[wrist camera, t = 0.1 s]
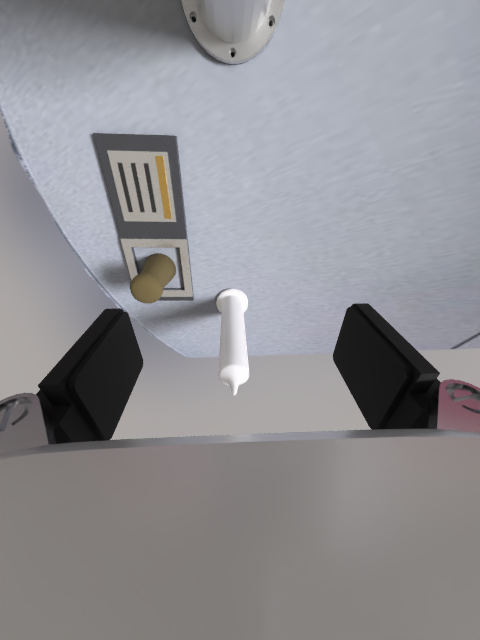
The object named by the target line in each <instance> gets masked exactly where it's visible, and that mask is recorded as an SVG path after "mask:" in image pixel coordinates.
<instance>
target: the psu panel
mask: <svg viewBox="0 0 480 640" xmlns="http://www.w3.org/2000/svg"><path fill="white" fill-rule="evenodd" d="M93 135H94V139H95V143H96V146H97V150H98V154H99V158H100V162H101V165H102V169H103V173H104V177H105V180H106V184H107V188H108V192H109V196H110V199H111V203H112V207H113V211H114V214H115V218H116V222H117V226H118V230H119V233H120V237H121V243H122V247H123V250H124V254H125V258H126V262H127V265H128V269H129V273H130V277H131V280H132V279H133V278H134V277H135V276H136V275H138V274H139V270H138V266H137V261H136V257H135V253H134V249H133V247H179V248H180V256H181V264H182V272H183V279H184V287H185V288H163V294H162V296H161V297H160V299H158V300H194V296H193V286H192V277H191V268H190V258H189V249H188V239H187V230H186V220H185V211H184V201H183V192H182V183H181V173H180V164H179V154H178V145H177V136H168V135H135V134H102V133H93ZM137 301H138V300H137Z"/></svg>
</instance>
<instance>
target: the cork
mask: <svg viewBox="0 0 480 640" xmlns="http://www.w3.org/2000/svg"><path fill="white" fill-rule="evenodd" d="M175 273H176V267H175V264H174V262H173V261H172V260H171V259H170V258H169V257H168V256H166V255H164V254H153V255H151V256H149V257H148V258H147V260H146V262H145V265H144V267H143V269H142V271H141V274H138V275H136V276H135V277H134V278H133V279H132V281H131V284H130V290H131V293H132V295H133V296H134V298H136V299H137V300H138V301H140V302H143V303H153V302H156V301H157V300H158V299H160V297H161V296H162V294H163V288H164V287H165V286H166V285H167V284H168V283H169V282H170V281H171V280H172V279H173V277H174V276H175Z"/></svg>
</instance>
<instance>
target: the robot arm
mask: <svg viewBox="0 0 480 640" xmlns="http://www.w3.org/2000/svg"><path fill="white" fill-rule="evenodd" d="M181 2H182V6H183V10H184V13H185V16H186V19H187V22H188V24H189V26H190V28H191V31H192V33H193V35H194V36H195V38H196V39H197V41H198V42H199V44H200V45H201V46H202V47H203V48H204V50H205V51H206V52H207V53H208V54H210V55H211V56H212V57H214V58H215V59H217V60H219V61H221V62H224V63H228V64H240V63H244V62H247V61H249V60H251V59H253V58H254V57H255V56H257V55H258V54H259V53H260V52H261V51H262V50H263V49H264V48H265V47H266V45H267V44H268V43H269V41H270V39H271V37H272V36H273V34H274V32H275V30H276V27H277V25H278V22H279V20H280V16H281V13H282V10H283V5H284V0H181ZM193 18H195V19H196V22H194V23H193V22H192V19H193ZM269 22H272V27H271V26H269ZM231 53H234V55H235V56H234V57H231ZM333 360H334V362H335V364H336V366H337V368H338V370H339V372H340V374H341V375H342V377H343V379H344V381H345V383H346V385H347V386H348V388H349V390H350V392H351V394H352V395H353V397H354V399H355V401H356V403H357V405H358V407H359V408H360V410H361V412H362V414H363V416H364V418H365V420H366V421H367V423H368V425H369V427H370V428H371V429H372V430H348V431H321V432H320V431H318V432H290V433H264V434H238V435H215V436H214V435H213V436H193V437H192V436H191V437H167V438H146V439H122V440H110V439H111V438H112V436H113V434H114V431H115V429H116V427H117V424H118V422H119V420H120V417H121V415H122V413H123V411H124V408H125V406H126V404H127V401H128V399H129V396H130V395H131V392H132V390H133V387H134V385H135V383H136V381H137V378H138V376H139V374H140V372H141V369H142V367H143V358H142V355H141V352H140V349H139V346H138V343H137V340H136V337H135V333H134V330H133V327H132V324H131V321H130V318H129V315H128V313H127V312H124V311H123V310H122V309H105V310H104V311H103V312H102V313H101V315H100V316H99V317H98V318H97V319H96V320H95V321H94V322H93V324H92V325H91V326H90V327H89V328H88V329H87V331H85V333H84V334H83V335H82V336H81V337H80V338H79V340H78V341H77V342H76V343H75V344H74V345H73V346H72V348H71V349H70V350H69V351H68V352H67V353H66V354H65V355H64V356H63V358H62V359H61V360H60V361H59V362H58V363H57V364H56V366H55V367H54V368H53V369H52V370H51V372H49V374H48V375H47V376H46V377H45V378H44V379H43V380H42V381H41V383H40V384H39V385H38V387H39V388H40V390H39V392H38V393H37V394H36V395H35V394H32V393H22V394H16V395H13V396H10V397H8V398H5V399H3V400H1V401H0V640H480V388H478V387H476V386H474V385H472V384H470V383H467V382H464V381H460V380H453V379H449V380H444V381H442V382H440V381H439V380H438V379H437V377H438V375H439V374H440V373H439V372H438V371H437V370H436V369H435V368H434V367H433V366H432V365H431V364H430V363H429V362H428V361H427V360H426V359H425V358H424V357H423V356H422V355H421V354H420V353H419V352H418V351H417V350H416V349H415V348H414V347H413V346H412V345H411V344H410V343H408V342H407V341H406V340H405V339H404V338H403V337H402V336H401V335H400V334H399V333H398V332H397V331H396V330H395V329H394V328H393V327H392V326H391V325H390V324H389V323H388V322H387V321H386V320H385V319H384V318H383V317H382V316H381V315H380V314H379V313H378V312H377V311H376V310H374V309H373V308H372V307H371V306H370V305H369V304H353V305H352V306H351V307H349V308H348V309H347V311H346V314H345V317H344V320H343V324H342V327H341V330H340V333H339V337H338V340H337V343H336V346H335V350H334V353H333Z"/></svg>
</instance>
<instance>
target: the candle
mask: <svg viewBox="0 0 480 640" xmlns="http://www.w3.org/2000/svg"><path fill="white" fill-rule="evenodd" d="M216 305H217V308H218V310H219V312H220V313H221V314H222V317H221V336H220V355H219V379H220V380H221V381H222V382H223V383H224V384H226V385H229V386H230V387H231V391H232V394H233V395H236V393H237V389H238V386H239V385H241V384H243V383H245V382H246V381H247V380H248V378H249V366H248V356H247V345H246V335H245V325H244V315H243V313H244V312H245V311H246V309H247V307H248V299H247V297H246V295H245V294H244V293H243V292H242V291H240V290H238V289H227V290H224V291H223V292H221V293H220V294H219V296H218V298H217V302H216Z"/></svg>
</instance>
